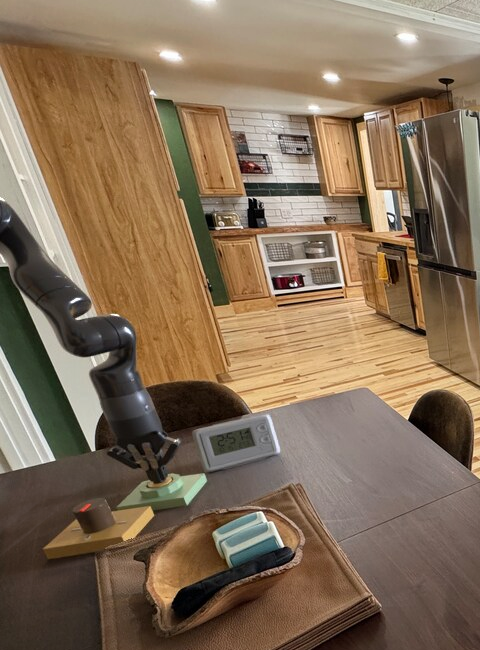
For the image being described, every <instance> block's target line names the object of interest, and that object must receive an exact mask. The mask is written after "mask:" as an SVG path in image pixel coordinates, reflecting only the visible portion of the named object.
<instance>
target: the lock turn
mask: <svg viewBox="0 0 480 650" xmlns="http://www.w3.org/2000/svg"><path fill="white" fill-rule="evenodd" d="M72 513H73V515H74V517H75V520H76V519H77V521H78V523H79V525H80V527H81V528H82V530H83V532H84V533H95V532H99V531H102V530H104V529H106V528H108V527H110V526H112V525H113V524H114V523H115V521H116V520H115V518H114V516H113V514H112V510H111V508H110V506H109V503H108V501H107V499H106V498H104V497H98V498H97V497H96V498H92V499H89V500H86V501H83V502H80V503H78V504H77V505H75V506H74V507H72Z"/></svg>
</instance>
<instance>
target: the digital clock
mask: <svg viewBox="0 0 480 650" xmlns="http://www.w3.org/2000/svg"><path fill="white" fill-rule="evenodd" d="M191 433H192V438H193V442H194V444H195V448H196V451H197V454H198V458H199V460H200V464H201V468H202V470H203V471H204V472H205V473H214V472H216V471H220V470H227V469H231V468H236V467H238V466H239V467H240V466H243V465H246V464H250V463H254V462H258V461H261V460H262V461H263V460H265V459H266V458H270V457H272V456H273V457H274V456H277V455H279V454H280V453H281V446H280V443H279V440H278V438H277V433H276V431H275V427H274V423H273V420H272V417H271V415H270V414H269V413H264V414H259V415H254V416H247V417H242V418H239V419H238V418H237V419H233V420H229V421H225V422H219V423H215V424H212V425H210V426H205V427H200V428H197V429H194V430H193V431H192V432H191Z"/></svg>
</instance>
